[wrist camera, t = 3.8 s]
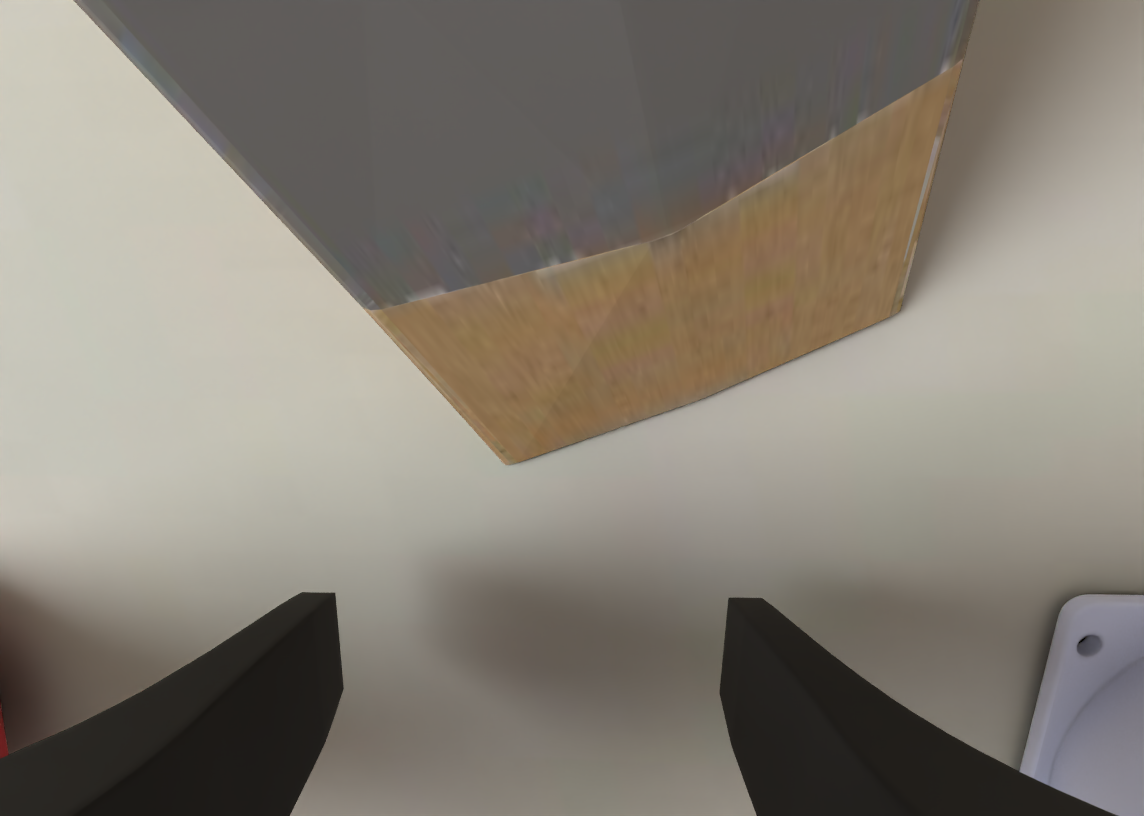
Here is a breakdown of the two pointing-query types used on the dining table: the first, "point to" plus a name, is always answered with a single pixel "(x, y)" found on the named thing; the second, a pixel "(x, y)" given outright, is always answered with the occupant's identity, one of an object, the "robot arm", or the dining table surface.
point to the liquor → (2, 737)
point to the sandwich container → (578, 178)
